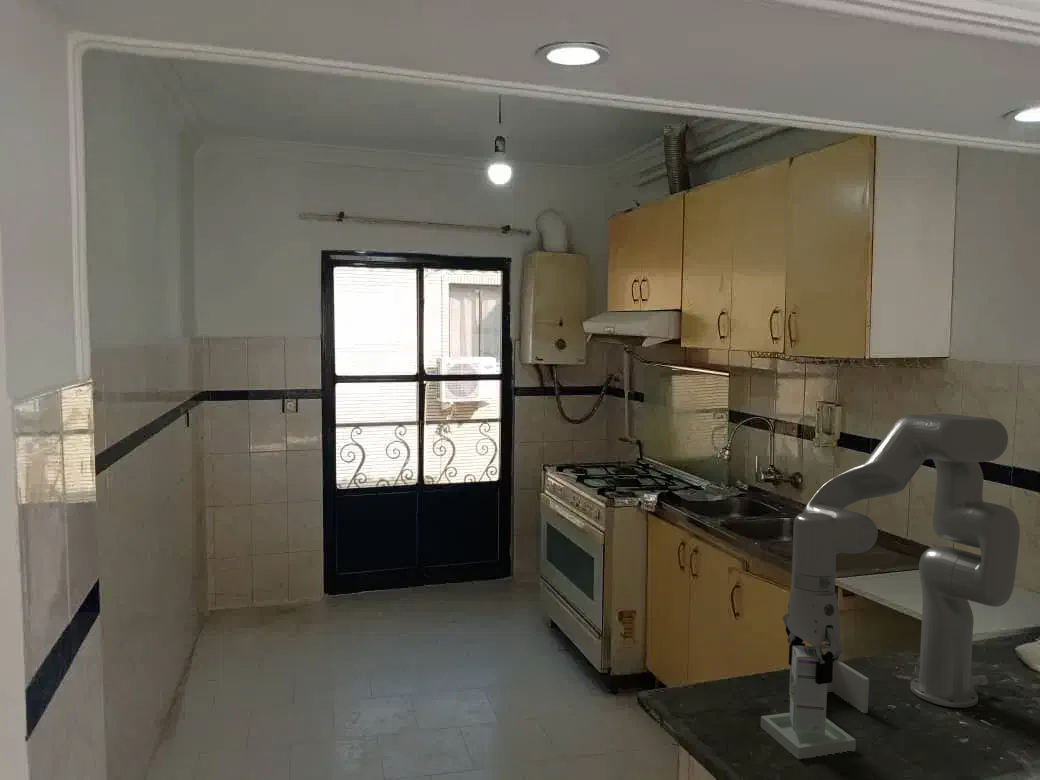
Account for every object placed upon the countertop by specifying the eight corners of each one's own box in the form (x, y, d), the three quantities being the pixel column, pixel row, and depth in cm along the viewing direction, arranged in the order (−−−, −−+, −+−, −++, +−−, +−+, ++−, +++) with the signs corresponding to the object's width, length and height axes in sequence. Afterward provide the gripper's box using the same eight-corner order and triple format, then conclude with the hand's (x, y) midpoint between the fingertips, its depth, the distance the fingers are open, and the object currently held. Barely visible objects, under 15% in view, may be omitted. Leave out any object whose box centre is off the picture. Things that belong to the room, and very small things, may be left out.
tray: (814, 719, 153) (814, 709, 152) (855, 751, 141) (855, 739, 141) (760, 726, 149) (760, 716, 149) (798, 759, 138) (798, 748, 138)
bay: (833, 689, 166) (835, 652, 165) (867, 712, 156) (869, 673, 155) (789, 695, 163) (790, 657, 163) (820, 718, 153) (822, 678, 152)
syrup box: (825, 736, 142) (830, 659, 141) (792, 732, 143) (796, 655, 142) (819, 721, 147) (824, 647, 146) (787, 717, 148) (791, 643, 148)
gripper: (862, 594, 136) (858, 691, 137) (802, 566, 153) (798, 653, 154) (825, 597, 134) (822, 696, 135) (768, 568, 151) (765, 656, 152)
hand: (809, 672), depth 144 cm, fingers closed on syrup box, 7 cm apart
